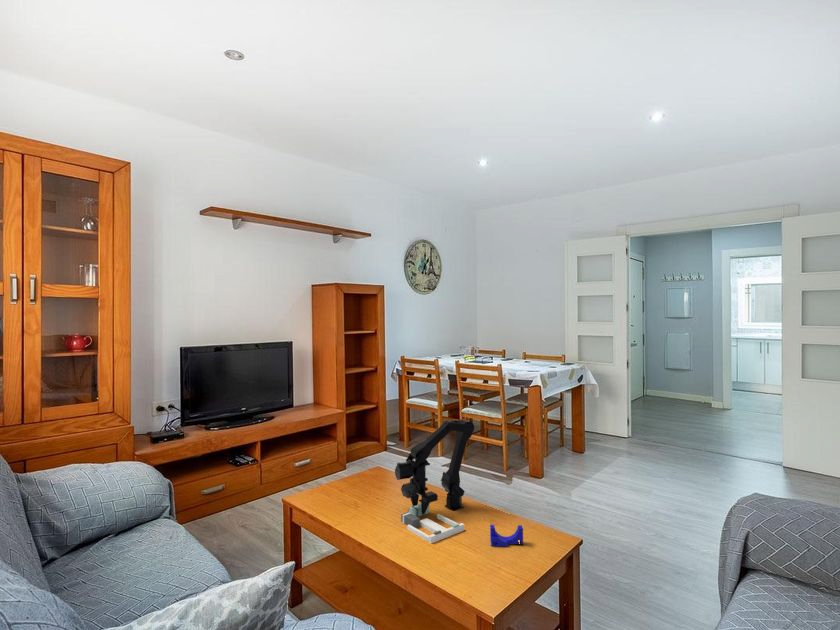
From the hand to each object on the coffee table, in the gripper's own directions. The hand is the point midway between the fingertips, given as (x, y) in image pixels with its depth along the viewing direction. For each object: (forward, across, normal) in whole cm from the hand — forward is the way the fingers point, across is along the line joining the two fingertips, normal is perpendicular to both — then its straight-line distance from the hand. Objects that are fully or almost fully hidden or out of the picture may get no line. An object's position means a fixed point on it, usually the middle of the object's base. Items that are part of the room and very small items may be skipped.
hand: (419, 511), depth 205 cm
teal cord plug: (+1, 0, 0) cm, 1 cm away
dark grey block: (+1, +6, -9) cm, 11 cm away
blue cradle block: (+1, +41, +10) cm, 42 cm away
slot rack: (+1, +15, -4) cm, 16 cm away
